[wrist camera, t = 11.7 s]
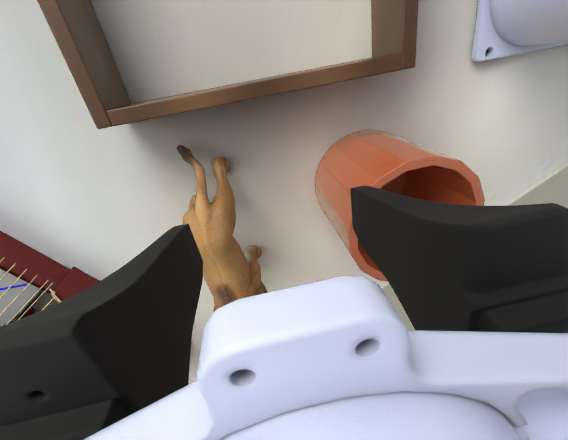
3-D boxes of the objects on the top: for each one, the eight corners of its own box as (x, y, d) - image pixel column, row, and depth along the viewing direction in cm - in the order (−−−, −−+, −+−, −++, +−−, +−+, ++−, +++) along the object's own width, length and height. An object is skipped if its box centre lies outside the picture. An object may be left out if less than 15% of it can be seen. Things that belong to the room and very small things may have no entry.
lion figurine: (291, 277, 26) (314, 364, 18) (240, 299, 27) (240, 394, 19) (212, 128, 19) (193, 164, 11) (144, 160, 20) (80, 217, 12)
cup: (410, 120, 21) (496, 142, 14) (406, 212, 25) (472, 266, 18) (308, 141, 21) (344, 175, 14) (320, 230, 24) (352, 294, 17)
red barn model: (190, 330, 28) (180, 383, 23) (112, 396, 30) (89, 456, 26) (-83, 177, 18) (-194, 212, 14) (-161, 292, 21) (-277, 355, 16)
